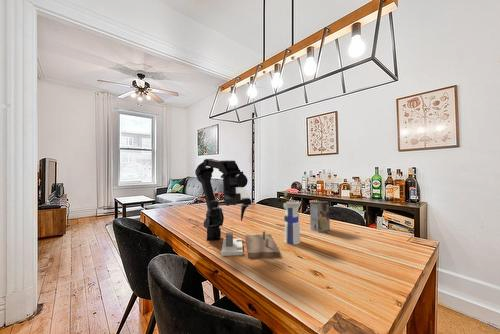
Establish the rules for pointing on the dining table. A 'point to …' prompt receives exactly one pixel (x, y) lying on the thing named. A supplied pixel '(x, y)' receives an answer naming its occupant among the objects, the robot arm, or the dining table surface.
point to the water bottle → (291, 222)
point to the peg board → (261, 246)
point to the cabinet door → (231, 246)
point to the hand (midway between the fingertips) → (231, 221)
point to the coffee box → (319, 216)
